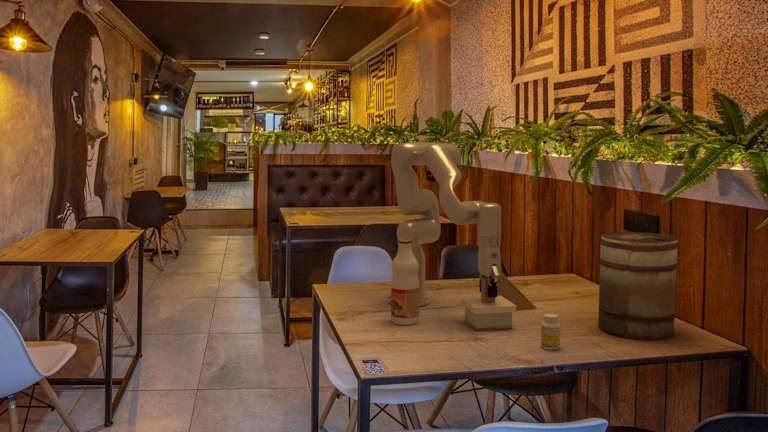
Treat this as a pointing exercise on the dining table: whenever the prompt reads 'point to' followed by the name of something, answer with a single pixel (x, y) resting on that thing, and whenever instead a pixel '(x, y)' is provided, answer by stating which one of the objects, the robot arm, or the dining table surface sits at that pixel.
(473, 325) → the box
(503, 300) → the lid
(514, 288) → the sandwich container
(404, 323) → the fruit juice
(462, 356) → the dining table surface
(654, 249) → the barrel
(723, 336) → the dining table surface
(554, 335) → the supplement bottle
